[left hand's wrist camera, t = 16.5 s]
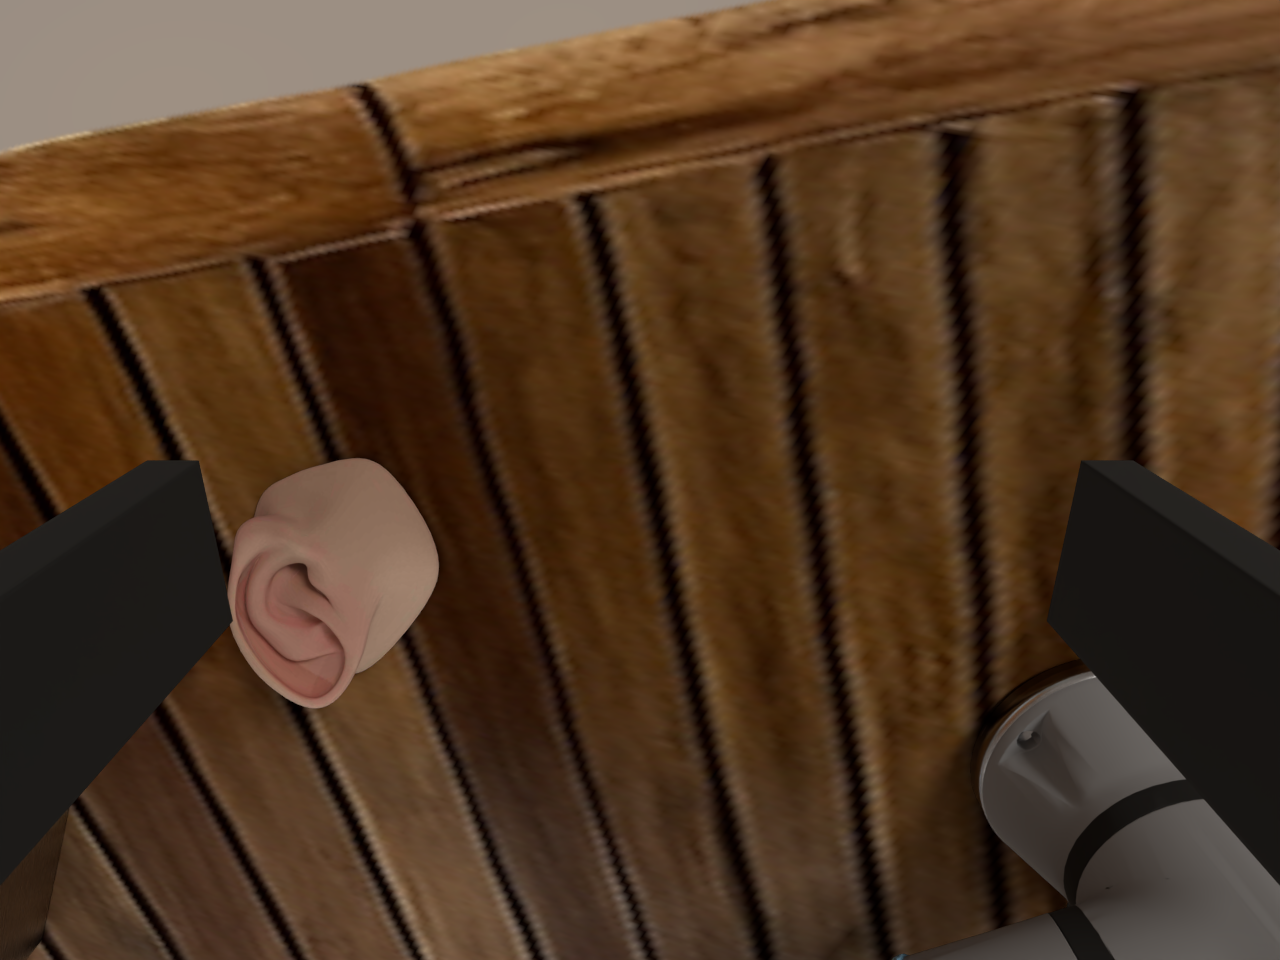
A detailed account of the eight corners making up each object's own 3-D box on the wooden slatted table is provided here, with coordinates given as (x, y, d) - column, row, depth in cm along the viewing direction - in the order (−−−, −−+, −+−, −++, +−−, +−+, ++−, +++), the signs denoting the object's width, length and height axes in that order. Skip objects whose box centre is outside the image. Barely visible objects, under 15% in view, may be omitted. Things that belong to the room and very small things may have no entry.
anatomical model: (307, 446, 40) (477, 598, 43) (335, 421, 43) (490, 563, 46) (146, 604, 43) (315, 735, 46) (185, 569, 47) (339, 692, 50)
